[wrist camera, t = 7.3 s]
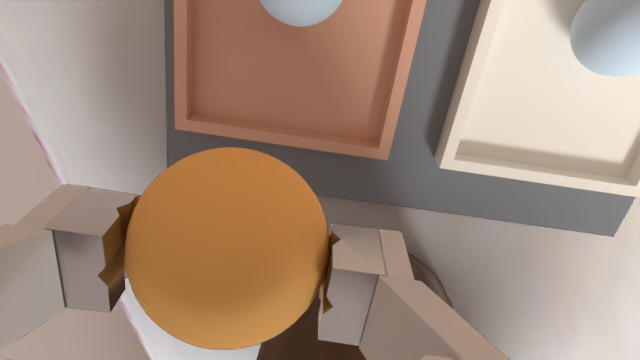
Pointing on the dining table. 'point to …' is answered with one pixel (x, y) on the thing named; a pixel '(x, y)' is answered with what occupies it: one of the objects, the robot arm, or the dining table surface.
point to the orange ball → (227, 248)
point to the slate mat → (419, 147)
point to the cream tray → (540, 105)
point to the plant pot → (325, 356)
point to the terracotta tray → (295, 73)
